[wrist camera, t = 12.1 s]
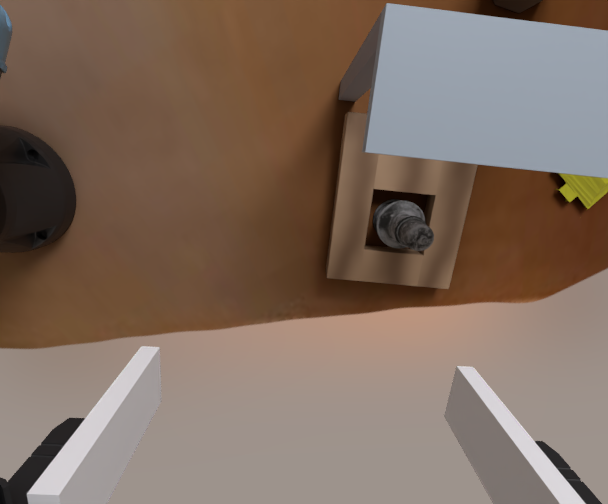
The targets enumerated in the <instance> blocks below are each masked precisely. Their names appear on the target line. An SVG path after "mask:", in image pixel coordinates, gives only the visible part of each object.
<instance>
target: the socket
mask: <svg viewBox="0 0 608 504" xmlns="http://www.w3.org/2000/svg"><path fill="white" fill-rule="evenodd" d="M366 120H367V114H364V113H355V112H347V113H346V114H345V119H344V127H343V135H342V143H341V151H340V159H339V167H338V175H337V183H336V191H335V199H334V207H333V215H332V223H331V231H330V239H329V247H328V255H327V263H326V271H325V272H326V276H327V278H331V279H342V280H353V281H364V282H375V283H386V284H398V285H409V286H420V287H431V288H442V289H449V286H450V282H451V277H452V273H453V269H454V264H455V260H456V256H457V252H458V247H459V243H460V239H461V234H462V230H463V226H464V222H465V217H466V213H467V209H468V204H469V200H470V196H471V191H472V187H473V183H474V179H475V174H476V170H477V166H478V165H477V164H468V163H459V162H449V161H440V160H430V159H421V158H412V157H402V156H393V155H383V154H374V153H365V152H362V148H363V141H364V134H365V127H366ZM373 189H380V190H389V191H399V192H409V193H419V194H428V196H427V201H426V206H425V211H424V217H425V223H426V225H427V226H429V227H430V228H431V229H432V231H433V233H434V241H433V243H432V244H431V246H430V247H429V248H427V249H425V250H423V251H415V250H412V249H403V248H392V247H382V246H371V245H365V241H366V234H367V228H368V222H369V215H370V209H371V202H372V196H373Z"/></svg>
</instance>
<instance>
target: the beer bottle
mask: <svg viewBox="0 0 608 504" xmlns="http://www.w3.org/2000/svg"><path fill="white" fill-rule="evenodd" d="M493 1H494V4H495V5H497V6H500V7H502V8H505V9H508V10H511V11H514V12H516V13H521V12H523V11H525V10H526V9H528V8H530V7H532V6H534V5H535V4H537V3H539V2H541V1H542V0H493Z"/></svg>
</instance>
